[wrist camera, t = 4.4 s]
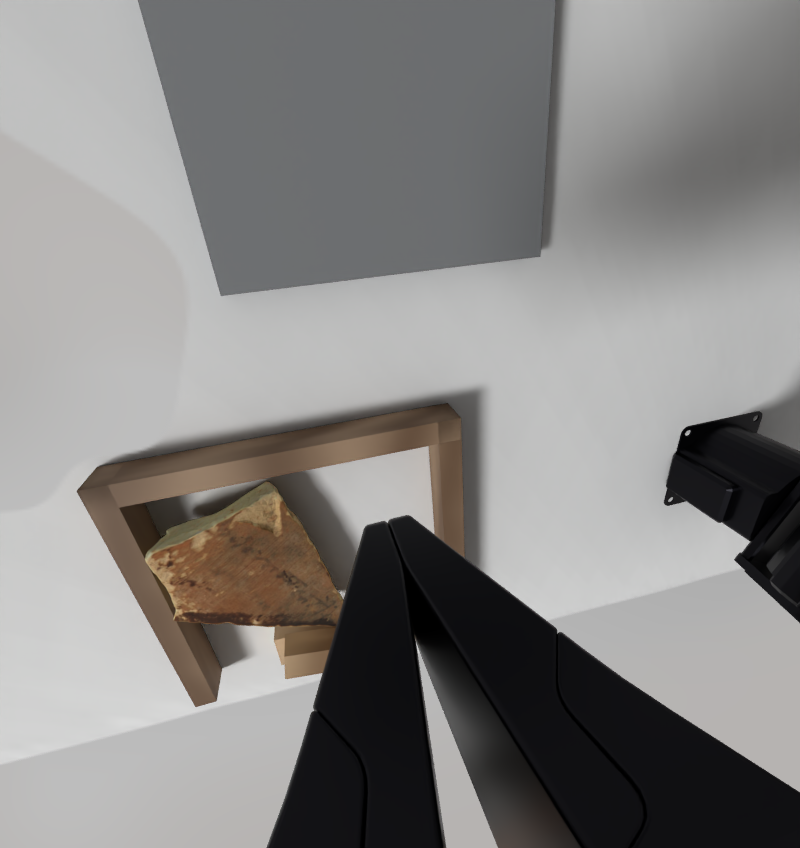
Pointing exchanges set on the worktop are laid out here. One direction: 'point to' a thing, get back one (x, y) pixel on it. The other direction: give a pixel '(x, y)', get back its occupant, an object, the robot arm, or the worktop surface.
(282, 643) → the lower oak offcut
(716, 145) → the worktop surface
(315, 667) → the upper oak offcut
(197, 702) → the walnut open-sided frame
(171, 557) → the shard
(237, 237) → the charcoal mat
